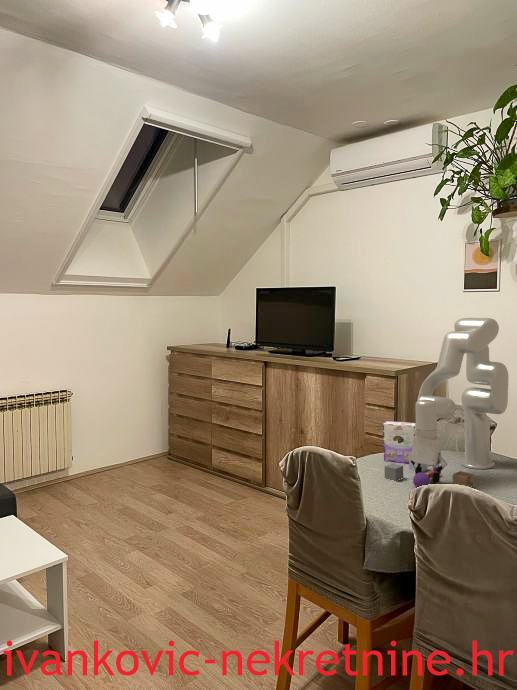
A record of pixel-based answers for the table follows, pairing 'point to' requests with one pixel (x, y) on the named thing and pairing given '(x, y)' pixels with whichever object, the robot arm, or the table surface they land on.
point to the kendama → (422, 478)
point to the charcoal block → (393, 472)
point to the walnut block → (463, 478)
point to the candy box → (398, 441)
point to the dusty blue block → (411, 467)
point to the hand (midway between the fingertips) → (427, 480)
